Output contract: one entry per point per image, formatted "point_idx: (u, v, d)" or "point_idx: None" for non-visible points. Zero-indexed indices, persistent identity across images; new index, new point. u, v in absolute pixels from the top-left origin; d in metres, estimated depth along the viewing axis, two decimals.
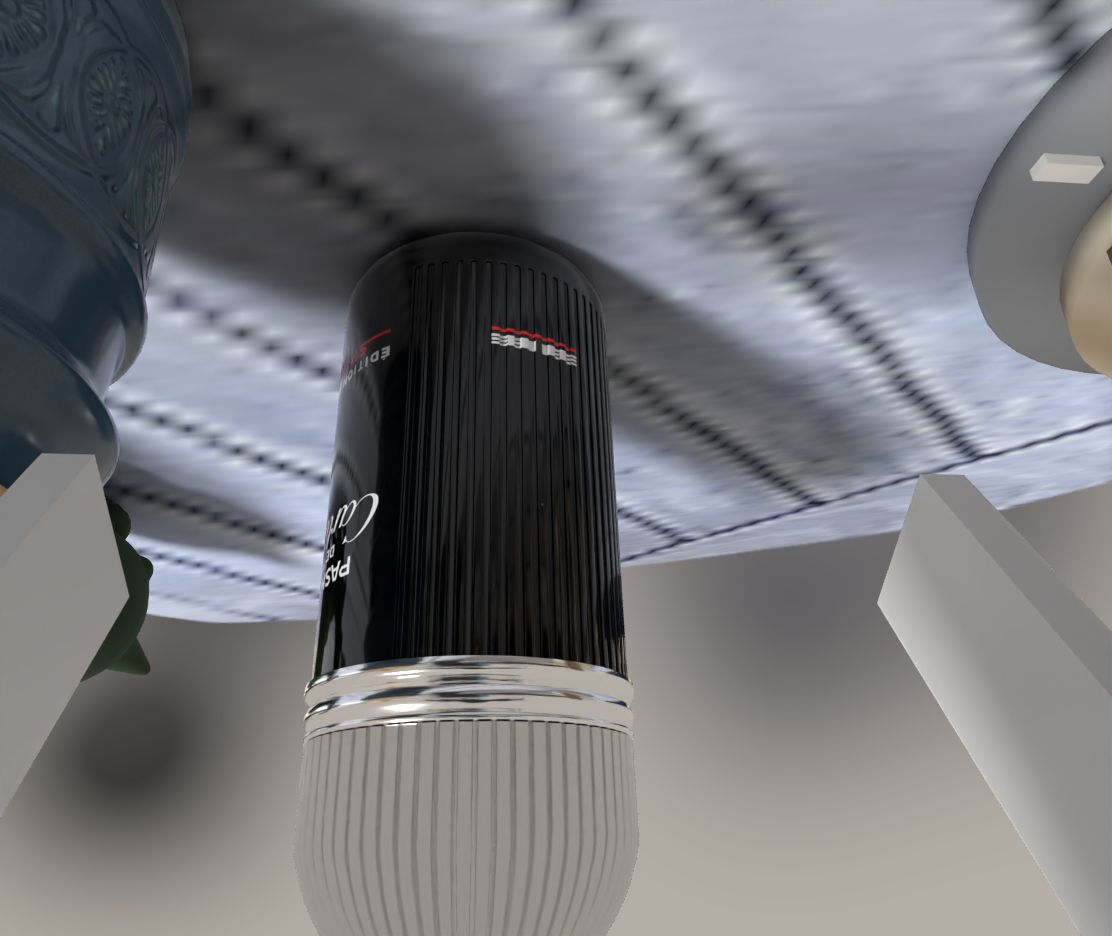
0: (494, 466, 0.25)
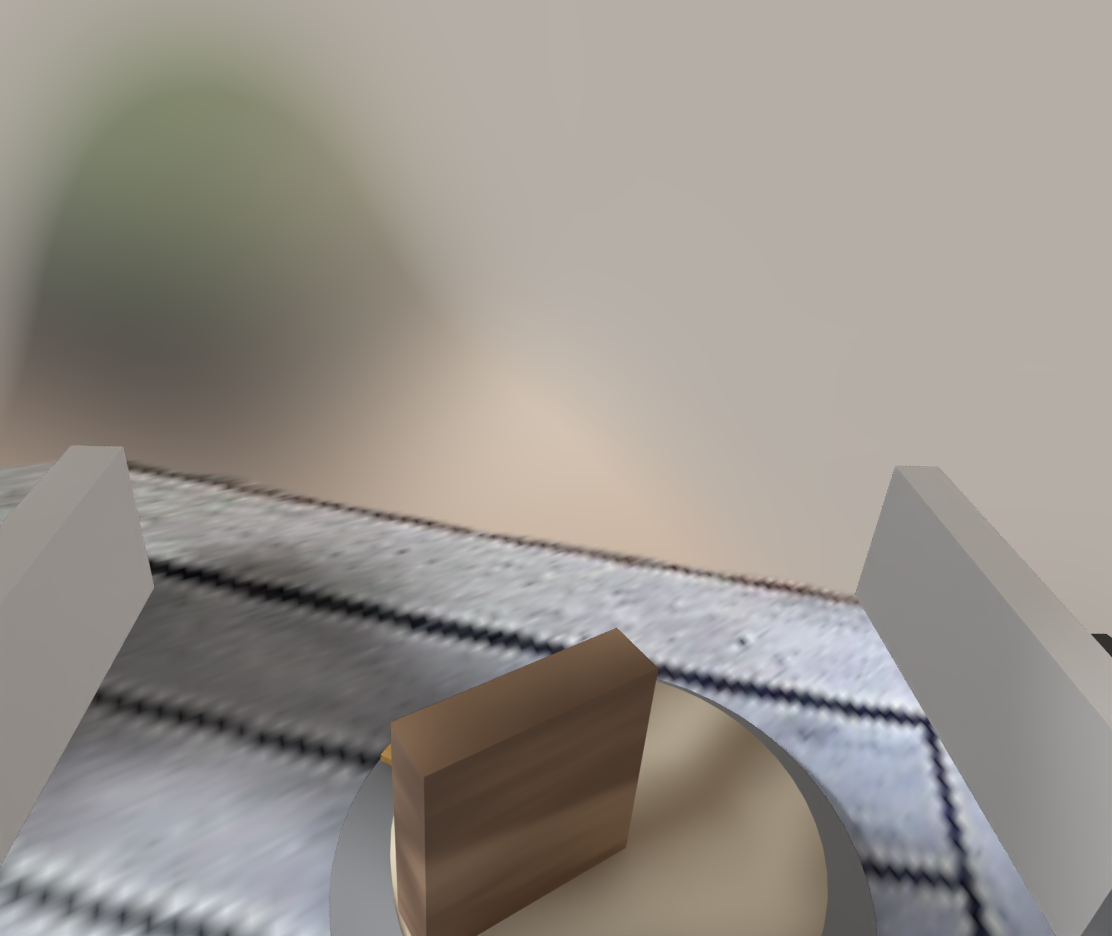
0: None
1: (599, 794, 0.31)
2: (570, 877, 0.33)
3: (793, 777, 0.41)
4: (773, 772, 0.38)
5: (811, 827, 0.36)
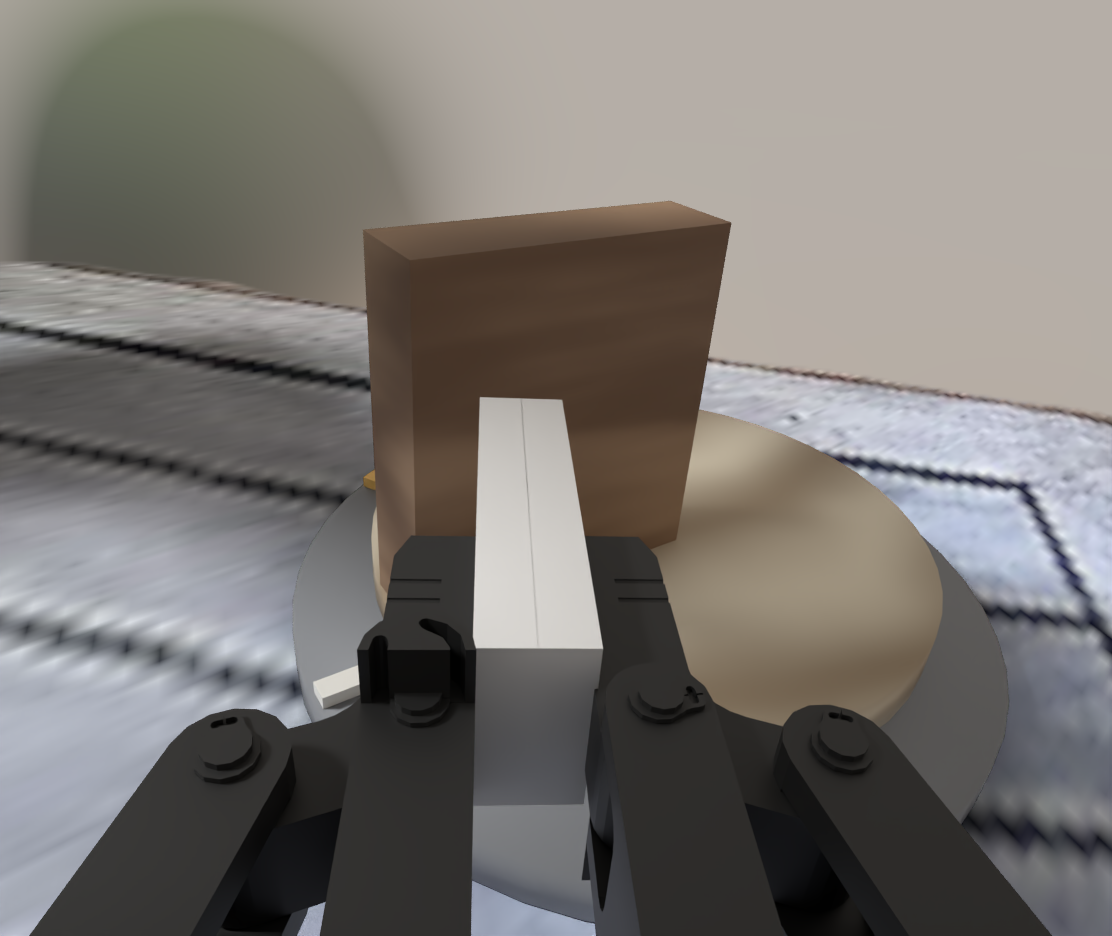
0: None
1: (648, 426, 0.23)
2: None
3: None
4: (854, 484, 0.30)
5: (910, 530, 0.28)
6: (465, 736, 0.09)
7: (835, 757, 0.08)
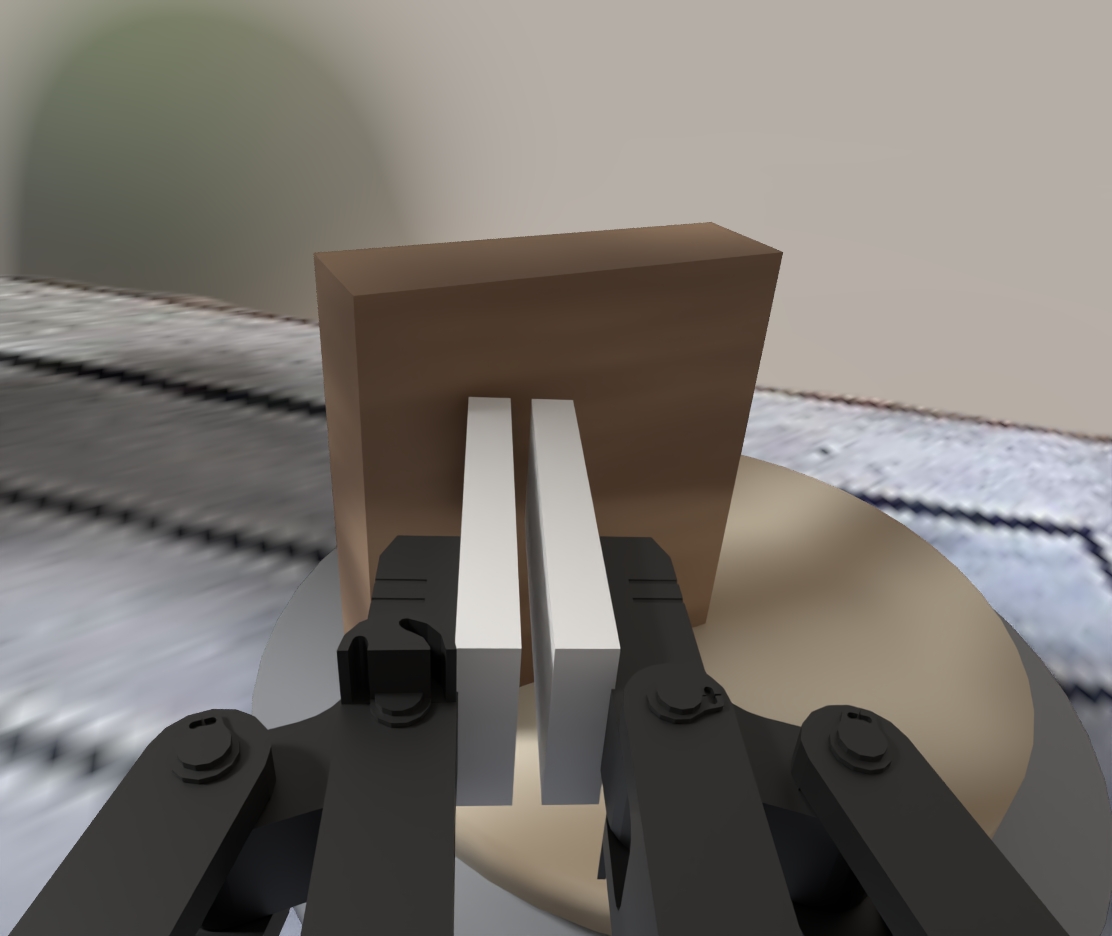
0: None
1: (672, 494, 0.19)
2: None
3: None
4: (928, 559, 0.26)
5: (995, 624, 0.23)
6: (446, 736, 0.08)
7: (853, 757, 0.08)
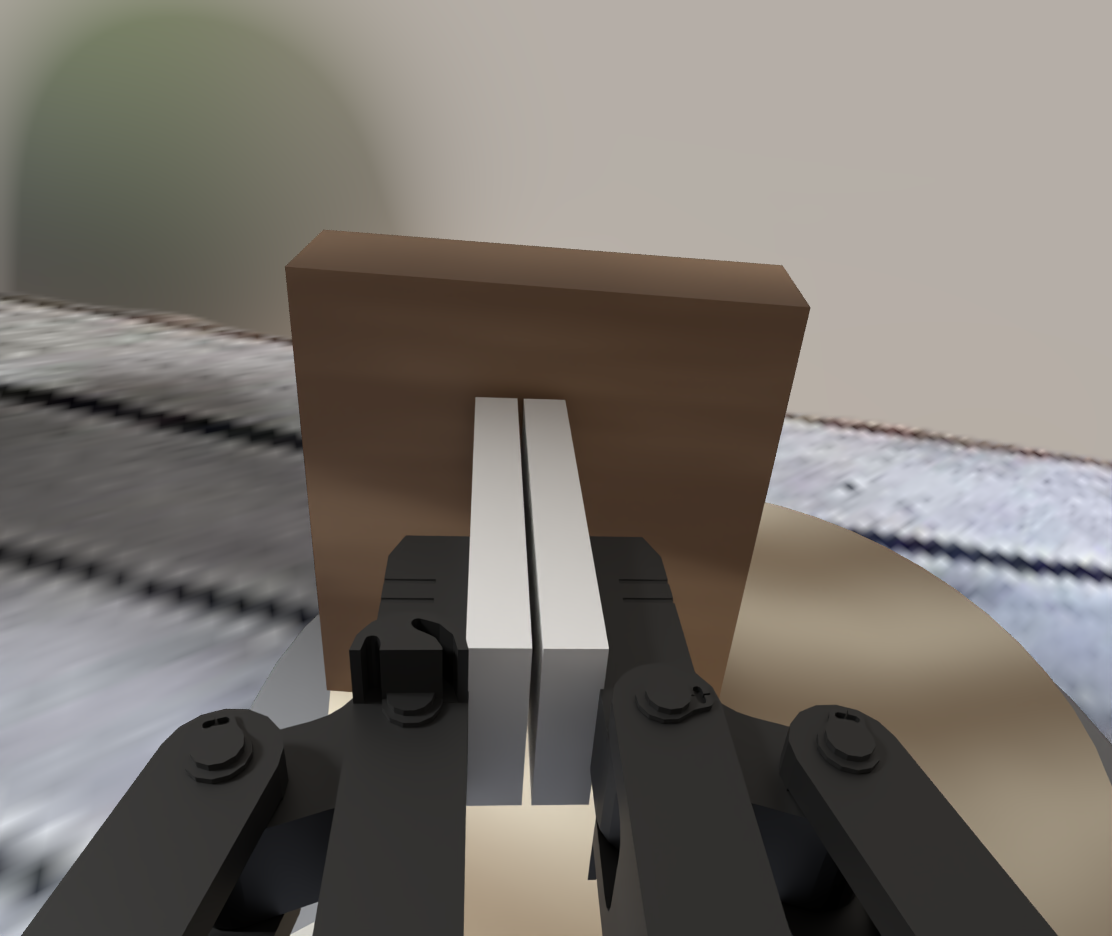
0: None
1: None
2: None
3: None
4: (1074, 762, 0.19)
5: (1111, 877, 0.17)
6: (458, 736, 0.08)
7: (841, 757, 0.08)
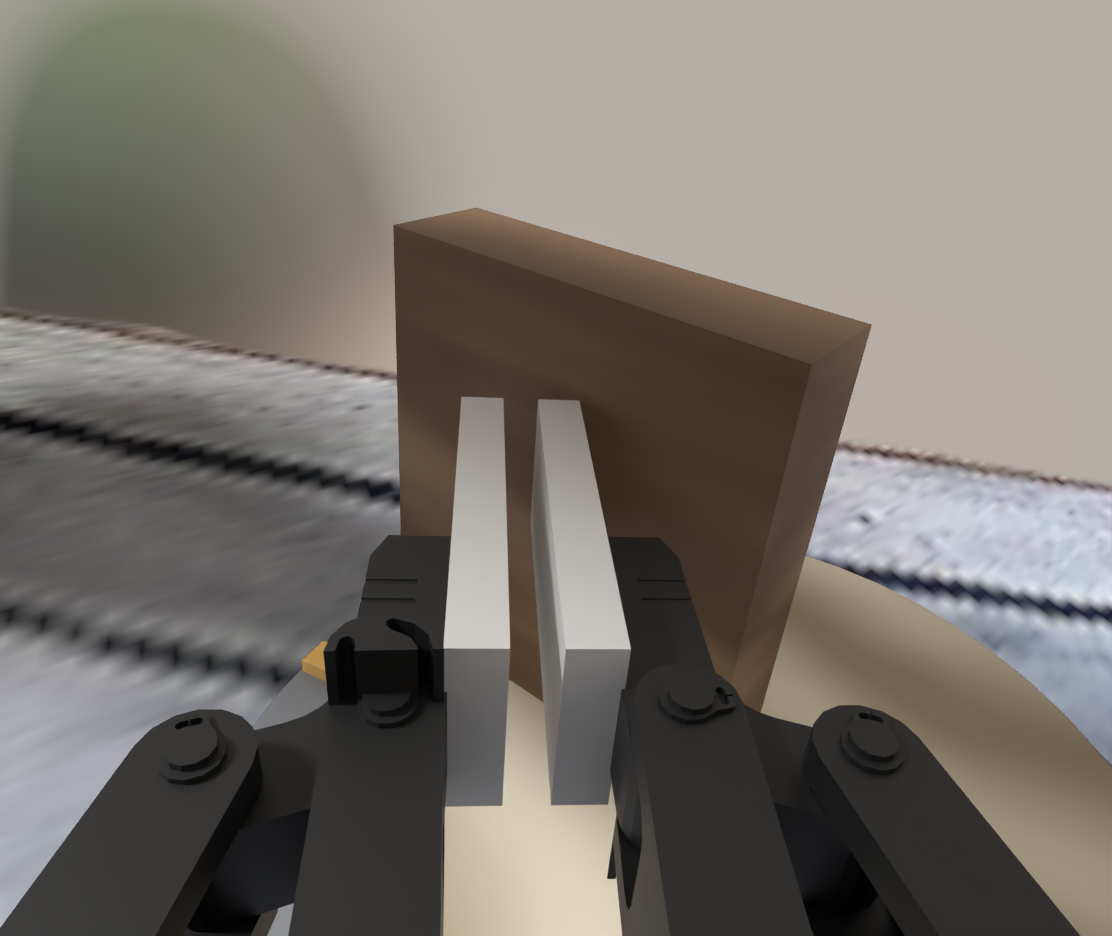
0: None
1: None
2: None
3: None
4: None
5: None
6: (434, 735, 0.08)
7: (864, 757, 0.08)
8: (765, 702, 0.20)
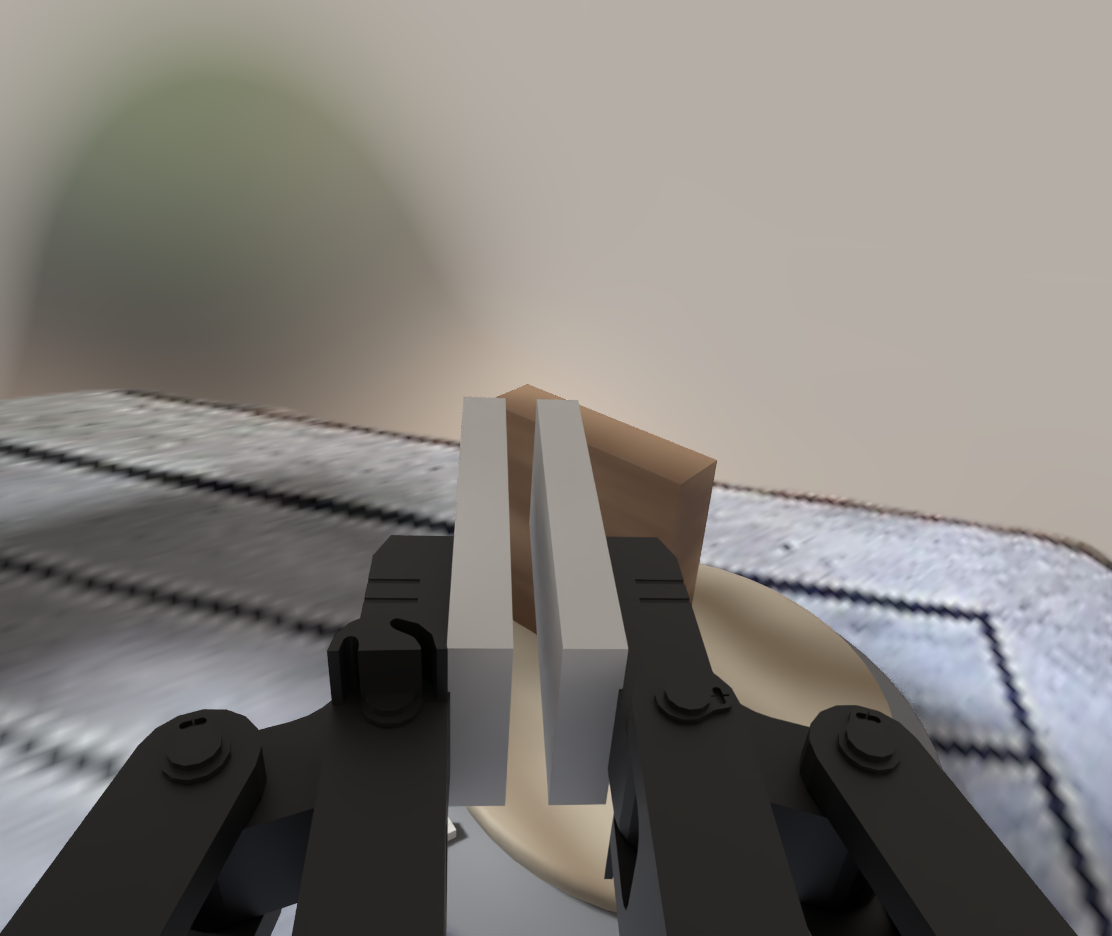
0: None
1: None
2: None
3: None
4: None
5: None
6: (437, 735, 0.08)
7: (861, 757, 0.08)
8: None
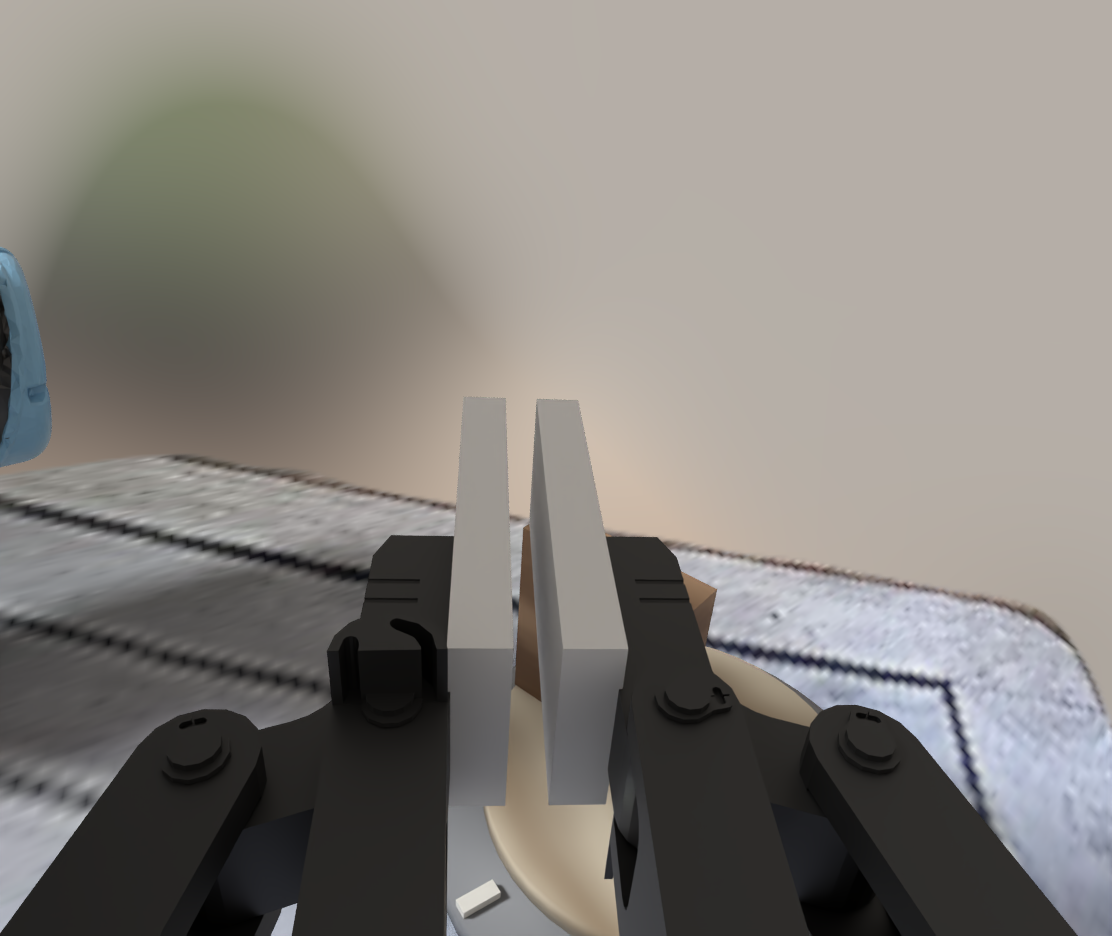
0: None
1: None
2: None
3: None
4: None
5: None
6: (438, 735, 0.08)
7: (862, 757, 0.08)
8: None
